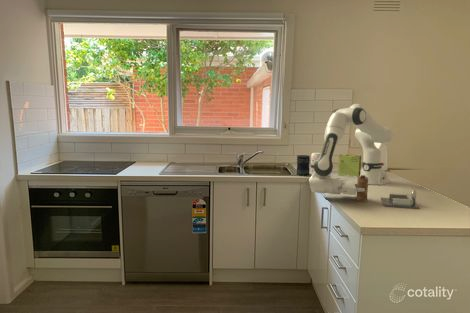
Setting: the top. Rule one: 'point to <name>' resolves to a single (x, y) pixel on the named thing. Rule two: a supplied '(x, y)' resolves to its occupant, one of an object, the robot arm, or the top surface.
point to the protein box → (349, 165)
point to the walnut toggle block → (362, 183)
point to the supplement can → (314, 159)
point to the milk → (382, 154)
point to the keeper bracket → (401, 201)
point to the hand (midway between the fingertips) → (363, 188)
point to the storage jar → (303, 165)
